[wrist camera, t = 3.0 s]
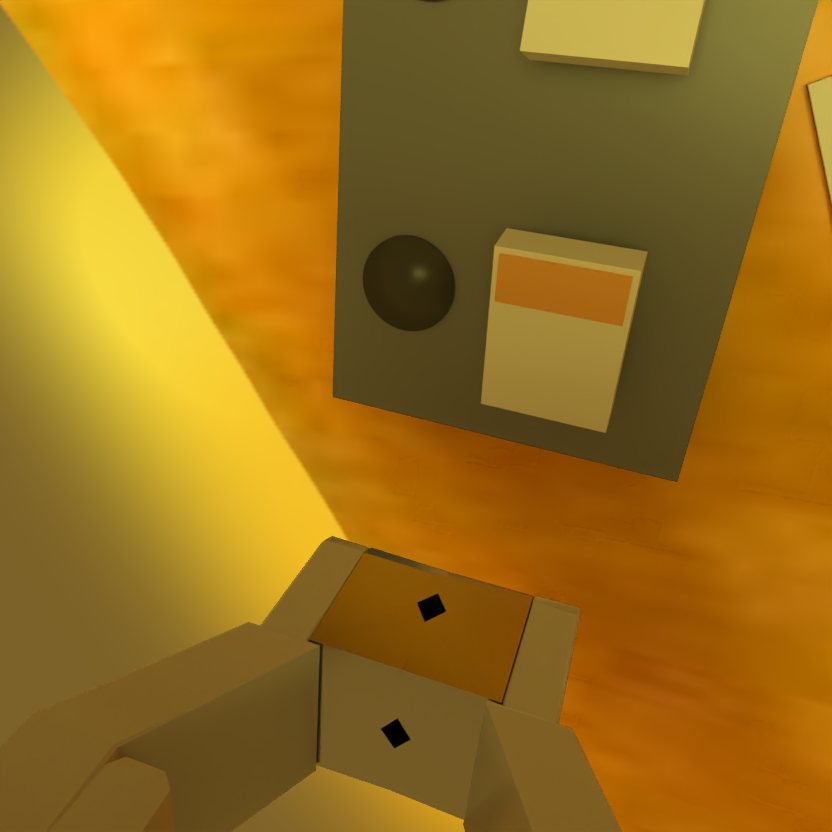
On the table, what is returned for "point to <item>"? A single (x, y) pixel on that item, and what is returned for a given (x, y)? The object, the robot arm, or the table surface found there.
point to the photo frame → (823, 122)
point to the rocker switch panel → (546, 204)
